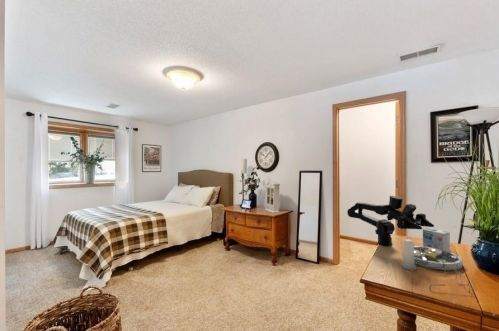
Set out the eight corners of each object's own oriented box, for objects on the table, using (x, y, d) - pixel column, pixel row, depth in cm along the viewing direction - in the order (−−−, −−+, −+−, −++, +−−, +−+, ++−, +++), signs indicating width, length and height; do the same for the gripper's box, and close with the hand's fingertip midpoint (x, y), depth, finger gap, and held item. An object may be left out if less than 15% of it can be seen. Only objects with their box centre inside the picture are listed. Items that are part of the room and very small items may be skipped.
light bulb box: (422, 247, 138) (422, 228, 138) (429, 245, 141) (428, 227, 140) (443, 253, 128) (443, 233, 128) (450, 251, 131) (450, 231, 131)
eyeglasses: (473, 293, 90) (473, 280, 90) (429, 290, 93) (429, 277, 93) (447, 274, 106) (447, 263, 106) (410, 272, 109) (410, 261, 109)
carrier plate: (393, 258, 123) (393, 250, 123) (415, 248, 136) (415, 241, 136) (450, 276, 103) (450, 266, 103) (470, 262, 115) (470, 254, 115)
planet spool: (399, 267, 113) (398, 240, 113) (405, 264, 116) (404, 237, 116) (412, 271, 108) (411, 243, 108) (418, 268, 111) (417, 240, 111)
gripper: (389, 203, 130) (418, 214, 116) (412, 201, 137) (442, 210, 122) (386, 222, 132) (414, 235, 118) (409, 219, 139) (438, 230, 124)
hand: (427, 227), depth 121 cm, fingers open, 9 cm apart
